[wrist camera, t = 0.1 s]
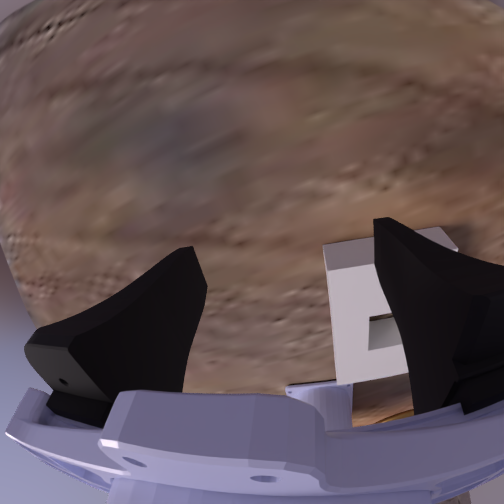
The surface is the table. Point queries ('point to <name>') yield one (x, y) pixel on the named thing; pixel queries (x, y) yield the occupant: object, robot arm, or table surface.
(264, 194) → the table surface
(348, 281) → the block
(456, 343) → the robot arm
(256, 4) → the table surface
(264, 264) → the table surface
